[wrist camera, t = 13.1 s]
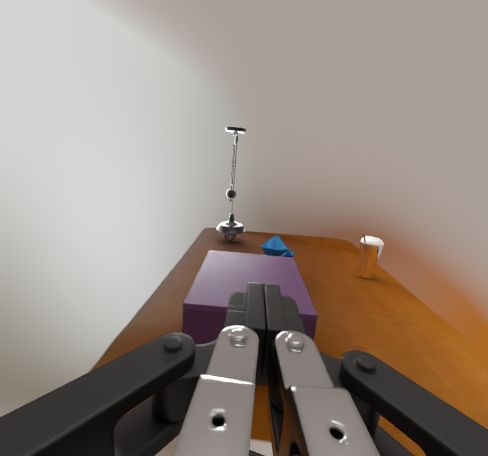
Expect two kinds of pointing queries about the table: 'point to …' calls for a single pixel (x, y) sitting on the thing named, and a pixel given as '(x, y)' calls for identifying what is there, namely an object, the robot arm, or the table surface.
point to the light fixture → (232, 196)
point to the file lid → (239, 273)
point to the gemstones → (276, 248)
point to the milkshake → (369, 256)
